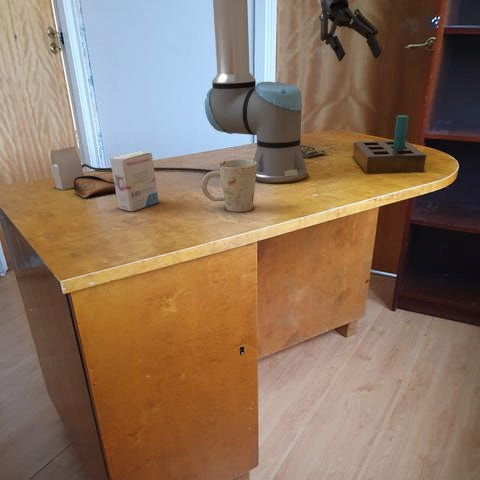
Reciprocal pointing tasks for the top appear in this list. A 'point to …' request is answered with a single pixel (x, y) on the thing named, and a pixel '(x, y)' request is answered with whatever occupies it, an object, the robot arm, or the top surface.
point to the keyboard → (310, 151)
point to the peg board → (388, 157)
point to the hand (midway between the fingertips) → (360, 56)
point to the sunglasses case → (94, 185)
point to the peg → (400, 132)
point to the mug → (234, 184)
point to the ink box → (134, 180)
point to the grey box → (66, 167)
